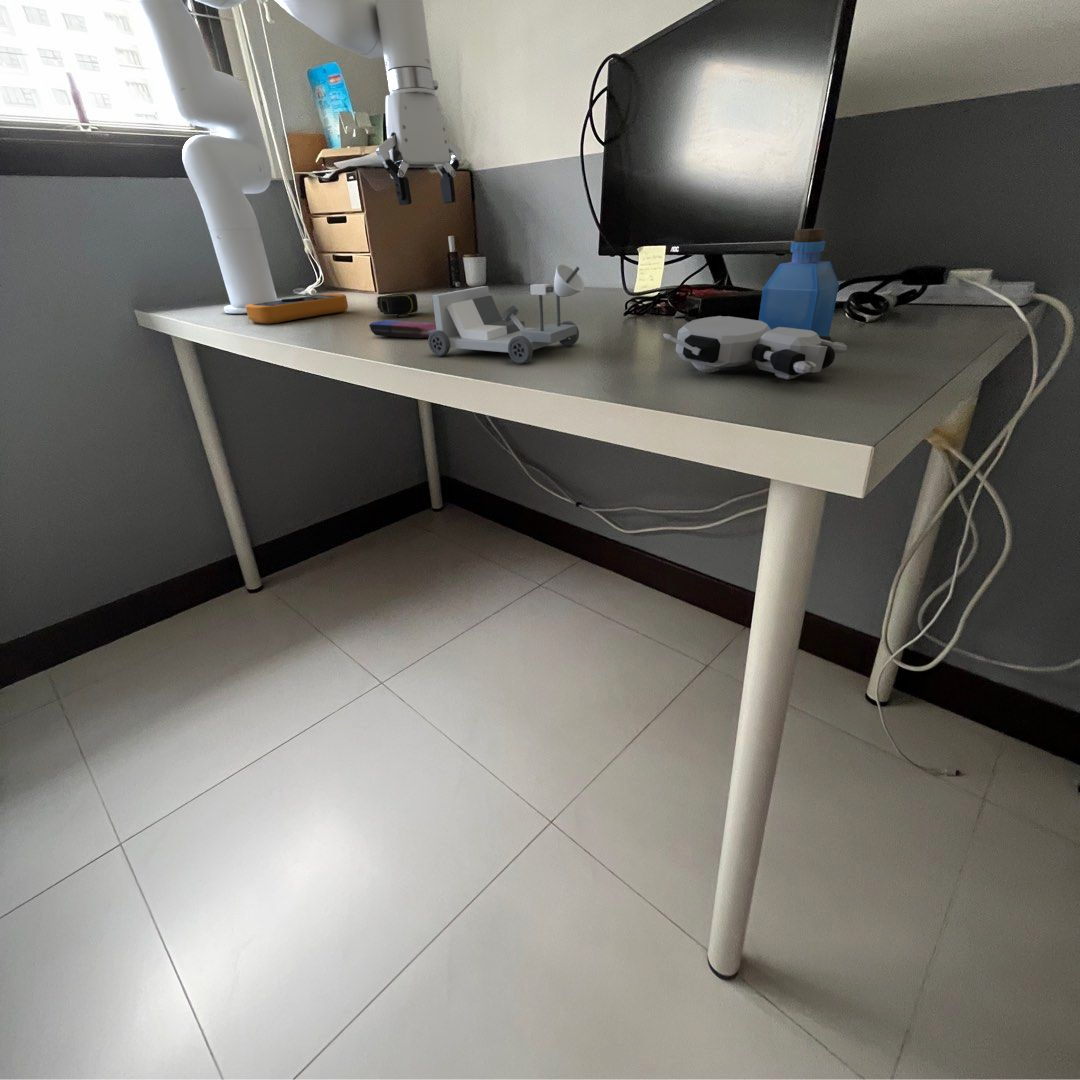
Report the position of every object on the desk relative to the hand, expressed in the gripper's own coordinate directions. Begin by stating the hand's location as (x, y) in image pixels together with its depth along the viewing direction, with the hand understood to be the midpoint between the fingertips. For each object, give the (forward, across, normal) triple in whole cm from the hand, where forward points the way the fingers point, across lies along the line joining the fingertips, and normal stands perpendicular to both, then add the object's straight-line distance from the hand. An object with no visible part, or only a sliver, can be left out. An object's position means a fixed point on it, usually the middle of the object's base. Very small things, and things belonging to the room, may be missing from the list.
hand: (428, 203), depth 104 cm
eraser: (+18, +22, +21) cm, 36 cm away
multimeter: (+18, +21, -18) cm, 33 cm away
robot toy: (+20, +15, +73) cm, 77 cm away
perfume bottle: (+20, -1, +70) cm, 73 cm away
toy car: (+19, +21, +44) cm, 52 cm away
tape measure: (+18, +10, 0) cm, 21 cm away
